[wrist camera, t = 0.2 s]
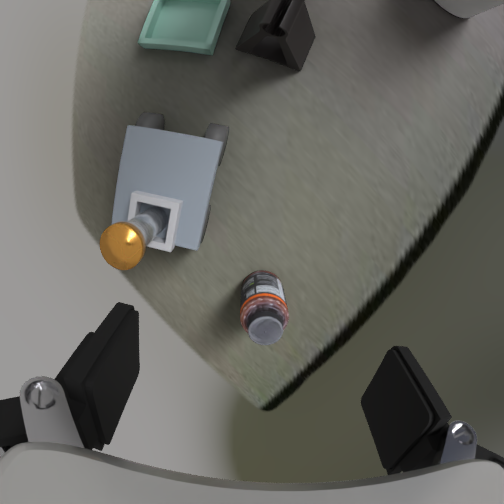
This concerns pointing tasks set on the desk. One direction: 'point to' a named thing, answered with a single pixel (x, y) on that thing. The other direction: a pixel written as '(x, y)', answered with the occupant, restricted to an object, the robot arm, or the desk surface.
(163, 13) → the tray
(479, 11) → the cylinder vase
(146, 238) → the pin
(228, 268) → the desk surface
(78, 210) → the desk surface
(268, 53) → the phone stand
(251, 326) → the supplement bottle
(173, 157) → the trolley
